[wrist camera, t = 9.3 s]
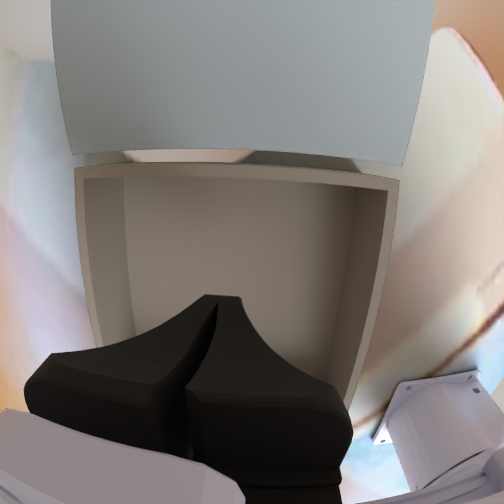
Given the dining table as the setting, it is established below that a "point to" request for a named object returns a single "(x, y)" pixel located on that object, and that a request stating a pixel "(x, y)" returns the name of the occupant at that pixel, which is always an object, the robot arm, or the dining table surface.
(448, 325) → the dining table surface
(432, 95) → the dining table surface
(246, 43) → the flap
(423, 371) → the dining table surface
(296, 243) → the carton
